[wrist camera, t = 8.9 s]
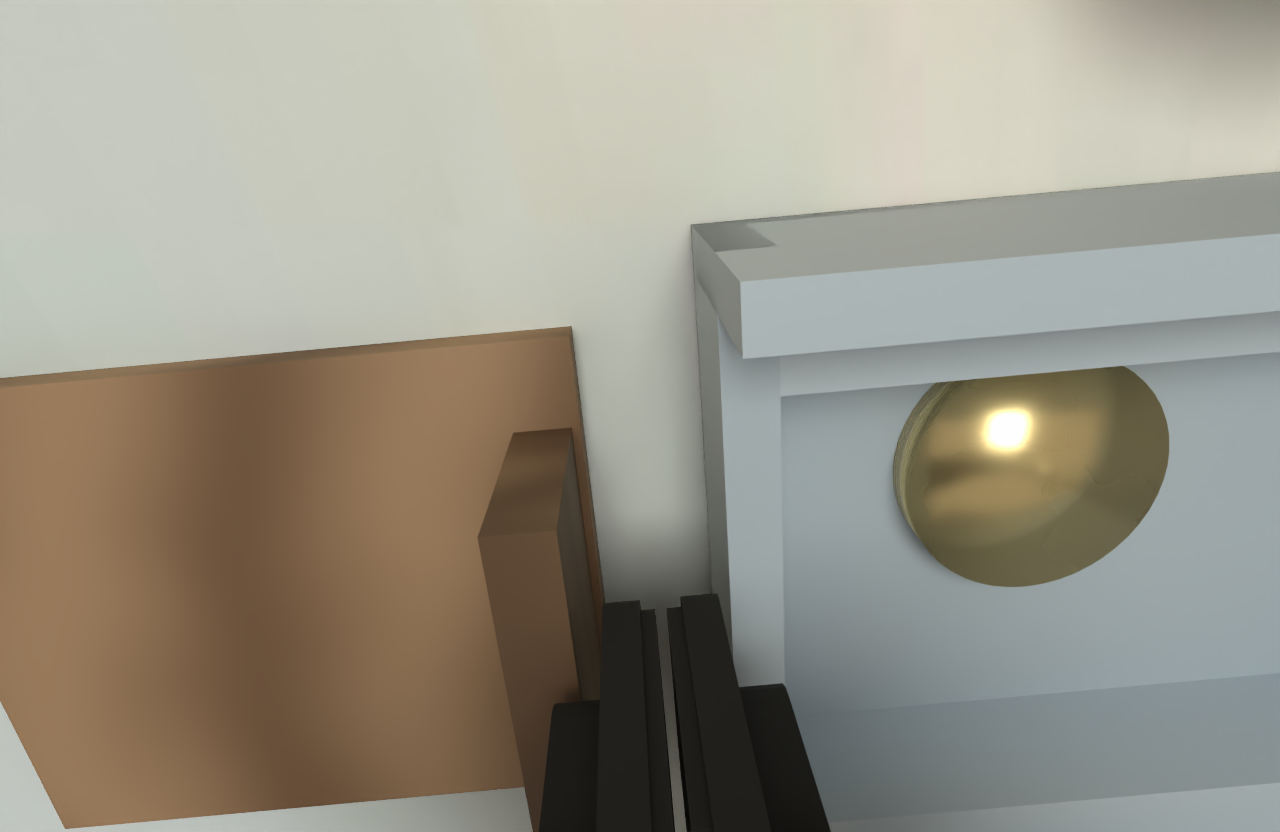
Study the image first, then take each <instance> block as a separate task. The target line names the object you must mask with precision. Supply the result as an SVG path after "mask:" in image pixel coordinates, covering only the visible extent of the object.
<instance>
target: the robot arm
mask: <svg viewBox="0 0 1280 832" xmlns="http://www.w3.org/2000/svg"><path fill="white" fill-rule="evenodd" d="M680 601H681V607H674V608H667V617H668V629H669V641H670V653H671V665H672V677H673V689H674V701H675V712H676V724H677V736H678V748H679V759H680V770H681V780H682V789H683V799H684V809H685V818H686V828H687V832H831V830H830V827H829V824H828V820H827V817H826V814H825V811H824V807H823V804H822V801H821V798H820V795H819V791H818V788H817V785H816V782H815V778H814V775H813V772H812V769H811V766H810V762H809V759H808V756H807V753H806V749H805V746H804V743H803V740H802V737H801V733H800V730H799V727H798V724H797V720H796V717H795V714H794V711H793V708H792V704H791V701H790V698H789V695H788V692H787V690H786V687H785V686H784V684H783V683H779V684H768V685H756V686H745V687H739V685H738V681H737V676H736V672H735V667H734V663H733V659H732V654H731V650H730V645H729V641H728V636H727V632H726V627H725V623H724V619H723V614H722V610H721V605H720V601H719V597H718V594H717V593H716V594H705V595H694V596H683V597H680ZM539 832H675V826H674V815H673V803H672V791H671V780H670V768H669V757H668V746H667V735H666V724H665V713H664V702H663V691H662V680H661V669H660V658H659V647H658V636H657V625H656V614H655V609H652V610H641V607H640V600H638V601H627V602H616V603H604V604H603V605H602V635H601V672H600V700H589V701H578V702H567V703H556V704H554V706H553V710H552V716H551V724H550V734H549V743H548V752H547V761H546V770H545V779H544V788H543V797H542V807H541V816H540V825H539Z"/></svg>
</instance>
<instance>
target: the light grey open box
mask: <svg viewBox="0 0 1280 832" xmlns="http://www.w3.org/2000/svg"><path fill="white" fill-rule="evenodd" d="M691 230H692V248H693V266H694V283H695V301H696V319H697V336H698V354H699V372H700V389H701V407H702V424H703V442H704V460H705V477H706V495H707V513H708V530H709V548H710V566H711V583H712V594H716V593H717V594H718V597H719V601H720V605H721V610H722V614H723V619H724V623H725V627H726V632H727V636H728V641H729V645H730V650H731V654H732V659H733V663H734V667H735V672H736V676H737V681H738V685H739V687H745V686H756V685H768V684H779V683H783V684H784V686H785V687H786V690H787V692H788V695H789V698H790V701H791V704H792V708H793V711H794V714H795V717H796V720H797V724H798V727H799V730H800V733H801V737H802V740H803V743H804V746H805V749H806V753H807V756H808V759H809V762H810V766H811V769H812V772H813V775H814V778H815V782H816V785H817V788H818V791H819V795H820V798H821V801H822V804H823V807H824V811H825V814H826V817H827V820H828V824H829V827H830V830H831V832H1280V172H1272V173H1261V174H1250V175H1238V176H1227V177H1216V178H1205V179H1194V180H1183V181H1172V182H1160V183H1149V184H1138V185H1127V186H1116V187H1105V188H1094V189H1082V190H1071V191H1060V192H1049V193H1038V194H1027V195H1016V196H1004V197H993V198H982V199H971V200H960V201H949V202H938V203H926V204H915V205H904V206H893V207H882V208H871V209H860V210H848V211H837V212H826V213H815V214H804V215H793V216H782V217H770V218H759V219H748V220H737V221H726V222H715V223H704V224H692V225H691ZM1115 366H1125V367H1126V368H1128V369H1130V370H1131V371H1133V372H1134V373H1135V374H1137V375H1138V376H1139V377H1140V378H1141V379H1142V380H1143V381H1145V382H1146V384H1147V385H1148V386H1149V387H1150V389H1151V390H1152V391H1153V392H1154V394H1155V395H1156V397H1157V399H1158V401H1159V402H1160V404H1161V406H1162V409H1163V411H1164V414H1165V417H1166V420H1167V425H1168V431H1169V458H1168V466H1167V469H1166V473H1165V477H1164V480H1163V483H1162V485H1161V488H1160V490H1159V493H1158V495H1157V497H1156V499H1155V501H1154V502H1153V504H1152V506H1151V508H1150V510H1149V511H1148V513H1147V514H1146V515H1145V517H1144V518H1143V520H1142V521H1141V522H1140V524H1139V525H1138V526H1137V527H1136V528H1135V529H1134V531H1133V532H1132V533H1131V534H1130V535H1129V536H1128V537H1127V538H1126V539H1125V540H1124V541H1123V542H1122V543H1121V544H1119V545H1118V546H1117V547H1116V548H1115V549H1114V550H1112V551H1111V552H1110V553H1108V554H1107V555H1106V556H1104V557H1103V558H1102V559H1100V560H1098V561H1097V562H1095V563H1093V564H1092V565H1090V566H1088V567H1087V568H1084V569H1082V570H1080V571H1078V572H1076V573H1074V574H1072V575H1069V576H1066V577H1064V578H1061V579H1058V580H1055V581H1051V582H1047V583H1043V584H1039V585H1032V586H1025V587H1001V586H991V585H986V584H981V583H977V582H974V581H972V580H969V579H966V578H963V577H962V576H960V575H958V574H956V573H954V572H952V571H950V570H949V569H948V568H946V567H945V566H943V565H942V564H941V563H939V562H938V561H937V560H936V559H935V558H934V557H933V556H932V555H931V554H930V552H929V551H928V550H927V548H926V547H925V546H924V544H923V543H922V542H921V541H920V539H919V538H918V537H917V535H916V534H915V533H914V531H913V530H912V529H911V527H910V526H909V525H908V523H907V522H906V520H905V518H904V517H903V515H902V513H901V511H900V509H899V506H898V503H897V500H896V497H895V492H894V486H893V461H894V454H895V450H896V446H897V442H898V439H899V436H900V434H901V431H902V429H903V426H904V424H905V422H906V420H907V419H908V417H909V415H910V413H911V412H912V410H913V408H914V407H915V406H916V404H917V403H918V402H919V400H920V399H921V397H922V396H923V395H924V394H925V393H926V392H927V391H928V390H929V389H930V387H931V386H932V385H933V384H934V383H936V382H947V381H958V380H970V379H981V378H992V377H1003V376H1014V375H1025V374H1036V373H1048V372H1059V371H1070V370H1081V369H1092V368H1103V367H1115Z"/></svg>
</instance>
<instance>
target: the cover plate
mask: <svg viewBox="0 0 1280 832" xmlns="http://www.w3.org/2000/svg"><path fill="white" fill-rule="evenodd" d="M604 603H605V599H604V591H603V583H602V574H601V566H600V558H599V550H598V542H597V533H596V525H595V517H594V509H593V501H592V492H591V484H590V476H589V468H588V460H587V451H586V443H585V435H584V427H583V419H582V410H581V402H580V394H579V386H578V378H577V369H576V361H575V353H574V345H573V337H572V328H571V326H569V327H558V328H547V329H536V330H525V331H514V332H503V333H492V334H481V335H470V336H459V337H448V338H437V339H426V340H415V341H404V342H393V343H382V344H371V345H360V346H349V347H338V348H327V349H316V350H305V351H294V352H283V353H272V354H261V355H250V356H239V357H228V358H217V359H206V360H195V361H184V362H173V363H162V364H151V365H140V366H129V367H118V368H107V369H96V370H85V371H74V372H63V373H52V374H41V375H30V376H19V377H8V378H0V701H1V703H2V705H3V707H4V709H5V711H6V713H7V715H8V717H9V719H10V721H11V723H12V725H13V727H14V729H15V731H16V733H17V735H18V737H19V739H20V741H21V743H22V745H23V747H24V749H25V750H26V752H27V754H28V756H29V758H30V760H31V762H32V764H33V766H34V768H35V770H36V772H37V774H38V776H39V778H40V780H41V782H42V784H43V786H44V788H45V790H46V792H47V794H48V796H49V798H50V800H51V802H52V804H53V806H54V808H55V810H56V812H57V814H58V816H59V818H60V820H61V821H62V823H63V825H64V827H65V829H70V828H81V827H92V826H103V825H114V824H124V823H135V822H146V821H157V820H168V819H179V818H190V817H201V816H212V815H223V814H234V813H245V812H256V811H266V810H277V809H288V808H299V807H310V806H321V805H332V804H343V803H354V802H365V801H376V800H387V799H398V798H408V797H419V796H430V795H441V794H452V793H463V792H474V791H485V790H496V789H507V788H518V787H525V792H526V797H527V802H528V807H529V813H530V818H531V823H532V828H533V832H539V825H540V816H541V807H542V797H543V788H544V779H545V770H546V761H547V752H548V743H549V734H550V724H551V716H552V710H553V706H554V704H556V703H567V702H578V701H589V700H600V672H601V635H602V605H603V604H604Z"/></svg>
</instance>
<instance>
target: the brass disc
mask: <svg viewBox="0 0 1280 832" xmlns="http://www.w3.org/2000/svg"><path fill="white" fill-rule="evenodd" d="M1168 458H1169V431H1168V425H1167V420H1166V417H1165V414H1164V411H1163V409H1162V406H1161V404H1160V402H1159V401H1158V399H1157V397H1156V395H1155V394H1154V392H1153V391H1152V390H1151V389H1150V387H1149V386H1148V385H1147V384H1146V382H1145V381H1143V380H1142V379H1141V378H1140V377H1139V376H1138V375H1137V374H1135V373H1134V372H1133V371H1131V370H1130V369H1128V368H1126V367H1125V366H1115V367H1103V368H1092V369H1081V370H1070V371H1059V372H1048V373H1036V374H1025V375H1014V376H1003V377H992V378H981V379H970V380H958V381H947V382H936V383H934V384H933V385H932V386H931V387H930V389H929V390H928V391H927V392H926V393H925V394H924V395H923V396H922V397H921V399H920V400H919V402H918V403H917V404H916V406H915V407H914V408H913V410H912V412H911V413H910V415H909V417H908V419H907V420H906V422H905V424H904V426H903V429H902V431H901V434H900V436H899V439H898V442H897V446H896V450H895V454H894V461H893V486H894V492H895V497H896V500H897V503H898V506H899V509H900V511H901V513H902V515H903V517H904V518H905V520H906V522H907V523H908V525H909V526H910V527H911V529H912V530H913V531H914V533H915V534H916V535H917V537H918V538H919V539H920V541H921V542H922V543H923V544H924V546H925V547H926V548H927V550H928V551H929V552H930V554H931V555H932V556H933V557H934V558H935V559H936V560H937V561H938V562H939V563H941V564H942V565H943V566H945V567H946V568H948V569H949V570H950V571H952V572H954V573H956V574H958V575H960V576H962V577H963V578H966V579H969V580H972V581H974V582H977V583H981V584H986V585H991V586H1001V587H1025V586H1032V585H1039V584H1043V583H1047V582H1051V581H1055V580H1058V579H1061V578H1064V577H1066V576H1069V575H1072V574H1074V573H1076V572H1078V571H1080V570H1082V569H1084V568H1087V567H1088V566H1090V565H1092V564H1093V563H1095V562H1097V561H1098V560H1100V559H1102V558H1103V557H1104V556H1106V555H1107V554H1108V553H1110V552H1111V551H1112V550H1114V549H1115V548H1116V547H1117V546H1118V545H1119V544H1121V543H1122V542H1123V541H1124V540H1125V539H1126V538H1127V537H1128V536H1129V535H1130V534H1131V533H1132V532H1133V531H1134V529H1135V528H1136V527H1137V526H1138V525H1139V524H1140V522H1141V521H1142V520H1143V518H1144V517H1145V515H1146V514H1147V513H1148V511H1149V510H1150V508H1151V506H1152V504H1153V502H1154V501H1155V499H1156V497H1157V495H1158V493H1159V490H1160V488H1161V485H1162V483H1163V480H1164V477H1165V473H1166V469H1167V466H1168Z"/></svg>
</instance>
